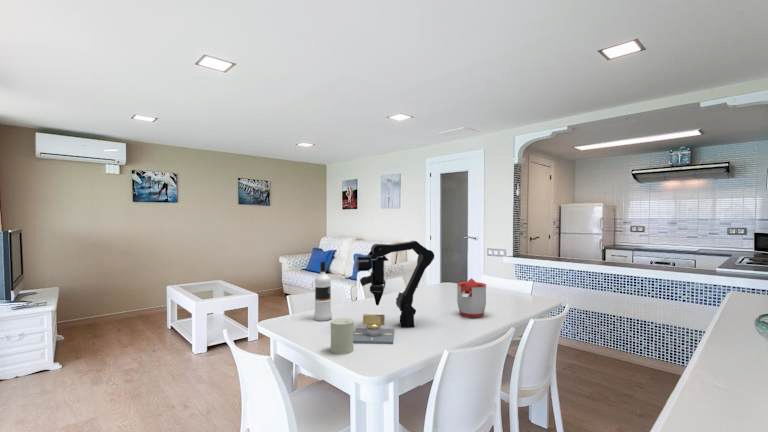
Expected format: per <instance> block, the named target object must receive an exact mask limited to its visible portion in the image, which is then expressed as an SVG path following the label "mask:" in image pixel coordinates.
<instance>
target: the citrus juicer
mask: <svg viewBox="0 0 768 432" xmlns="http://www.w3.org/2000/svg"><path fill="white" fill-rule="evenodd" d="M456 287H457V288H456V291H457V293H456V295H457V296H456V298H457V300H456V302H457V307H458V311H459V314H460V315H461V316H462V317H464V318H473V319H478V318H481V317H483V316H484V314H485V310H486V305H487V284H486V283H483V282H478V281H475V280H474V279H473V278H472V277H471V278H470V279H468V281H461V282H457V283H456Z"/></svg>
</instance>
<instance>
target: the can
mask: <svg viewBox="0 0 768 432" xmlns="http://www.w3.org/2000/svg"><path fill="white" fill-rule="evenodd" d="M353 334H354V319H352V318H349V317H338V318H337V317H336V318H335V319H330V350H329V351H330V352H331V353H333V354H335V355H345V354H350V353H352V352H354V343H353Z"/></svg>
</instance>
